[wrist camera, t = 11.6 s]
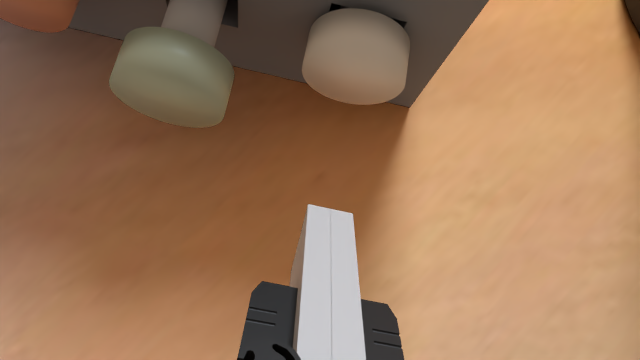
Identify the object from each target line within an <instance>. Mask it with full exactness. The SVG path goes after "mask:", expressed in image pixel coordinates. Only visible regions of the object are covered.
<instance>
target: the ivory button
mask: <svg viewBox="0 0 640 360" xmlns="http://www.w3.org/2000/svg"><path fill="white" fill-rule="evenodd" d="M409 52H410V40H409V37H408V34H407V33H406V31H405V30H404V29H403V28H402V26H401V25H399V24H398V23H397V22H396V21H394V20H393V19H391V18H389V17H387V16H386V15H383V14H381V13H378V12H375V11H371V10H366V9H358V8H349V7H345V6H341V5H340V9H339V10H334V11H331V12H328V13H326V14H324V15H322V16H320V17H319V18H318V19H317V20H316V21H315V22H314V23H313V24H312V26H311V29H310V32H309V36H308V41H307V46H306V51H305V55H304V60H303V65H302V75H303V77H304V79H305V81H306V82H307V83H308V85H309V86H310V87H311V88H313V89H314V90H315V91H317V92H318V93H320V94H322V95H324V96H326V97H328V98H330V99H333V100H336V101H339V102H343V103H348V104H357V105H371V104H379V103H383V102H386V101H389V100H391V99H393V98H395V97H397V96H398V95H399V94H400V93H401V92H402V91H403V89H404V87H405V83H406V75H407V67H408V60H409Z"/></svg>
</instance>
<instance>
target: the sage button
mask: <svg viewBox="0 0 640 360" xmlns="http://www.w3.org/2000/svg"><path fill="white" fill-rule="evenodd" d="M227 1H228V0H170V2H169V5H168V8H167V11H166V13H165V16H164V19H163V22H162V25H161V27H141V28H137V29H134V30H132V31H130V32H129V33H128V34H127V35H126V36H125V38H124V40H123V43H122V46H121V49H120V51H119V54H118V57H117V60H116V62H115V65H114V68H113V71H112V73H111V76H110V79H109V86H110V88H111V90H112V92H113V93H114V94H115V95H116V96H117V97H118V98H119V99H120V100H121V101H122V102H124V103H125V104H126V105H128V106H129V107H131V108H133V109H134V110H136V111H138V112H140V113H142V114H144V115H146V116H149V117H151V118H154V119H156V120H159V121H162V122H166V123H169V124H173V125H178V126H183V127H192V128H205V127H211V126H215V125H217V124H219V123H220V122H221V121H222V120H223V118H224V115H225V111H226V107H227V104H228V100H229V96H230V92H231V88H232V85H233V81H234V70H233V67H232V65H231V64H230V62H229V61H228V60H227V58H226V57H225V56H224V55H223V54H222V53H220V52H219V51H218V50H217V49H215V48H214V46H215V43H216V39H217V36H218V32H219V29H220V26H221V22H222V19H223V15H224V12H225V8H226V5H227Z"/></svg>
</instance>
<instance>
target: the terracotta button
mask: <svg viewBox="0 0 640 360" xmlns="http://www.w3.org/2000/svg"><path fill="white" fill-rule="evenodd" d="M78 3H79V0H0V18H1V19H3V20H5V21H7V22H10V23H12V24H15V25H17V26H20V27H23V28H26V29H30V30H34V31H39V32H50V33H52V32H60V31H63V30H65V29H66V28H68V26H69V25H70V22H71V20H72V17H73V15H74V12H75V10H76V8H77V5H78Z"/></svg>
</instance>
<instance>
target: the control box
mask: <svg viewBox="0 0 640 360" xmlns="http://www.w3.org/2000/svg"><path fill="white" fill-rule="evenodd" d="M488 1H489V0H228V1H227V5H226V8H225V12H224V15H223V19H222V22H221V26H220V29H219V32H218V36H217V39H216V43H215V46H214V48H215V49H217V50H218V51H219V52H220V53H222V54H223V55H224V56H225V57H226V58H227V60H228V61H229V62H230V64H231V65H232V66H235V67H240V68H244V69H248V70H252V71H257V72H261V73H265V74H269V75H274V76H278V77H282V78H287V79H291V80H295V81H299V82H304V83H307V82H306V81H305V79H304V77H303V75H302V65H303V60H304V55H305V51H306V46H307V41H308V36H309V32H310V29H311V26H312V24H313V23H314V22H315V21H316V20H317V19H318V18H319V17H320V16H322V15H324V14H326V13H328V12H331V11H334V10H339V9H340V5H341V6H345V7H349V8H358V9H366V10H371V11H375V12H378V13H381V14H383V15H386V16H387V17H389V18H391V19H393V20H394V21H396V22H397V23H398V24H399V25H401V26H402V28H403V29H404V30H405V31H406V33H407V34H408V37H409V40H410V52H409V60H408V67H407V75H406V83H405V87H404V89H403V91H402V92H401V93H400V94H399V95H398V96H397V97H395V98H393V99H391V100H389V101H386V102H389V103H393V104H397V105H402V106H406V107H410V106H411V105H412V104H413V102H414V101H415V100H416V98H417V97H418V96H419V94H420V93H421V92H422V90H423V89H424V88H425V86H426V85H427V83H428V82H429V81H430V79H431V78H432V77H433V75H434V74H435V73H436V71H437V70H438V69H439V67H440V66H441V65H442V63H443V62H444V60H445V59H446V58H447V56H448V55H449V54H450V52H451V51H452V50H453V48H454V47H455V46H456V44H457V43H458V41H459V40H460V39H461V37H462V36H463V35H464V33H465V32H466V31H467V29H468V28H469V27H470V25H471V24H472V23H473V21H474V20H475V18H476V17H477V16H478V14H479V13H480V12H481V10H482V9H483V8H484V6H485V5H486V4H487V2H488ZM169 2H170V0H79V3H78V5H77V8H76V10H75V12H74V15H73V17H72V20H71V22H70V25H69V26H68V27H69V28H74V29H78V30H82V31H86V32H91V33H95V34H99V35H103V36H108V37H112V38H116V39H120V40H124V38H125V36H126V35H127V34H128V33H129V32H130V31H132V30H134V29H137V28H141V27H161V25H162V22H163V19H164V16H165V13H166V11H167V8H168V5H169Z"/></svg>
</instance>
